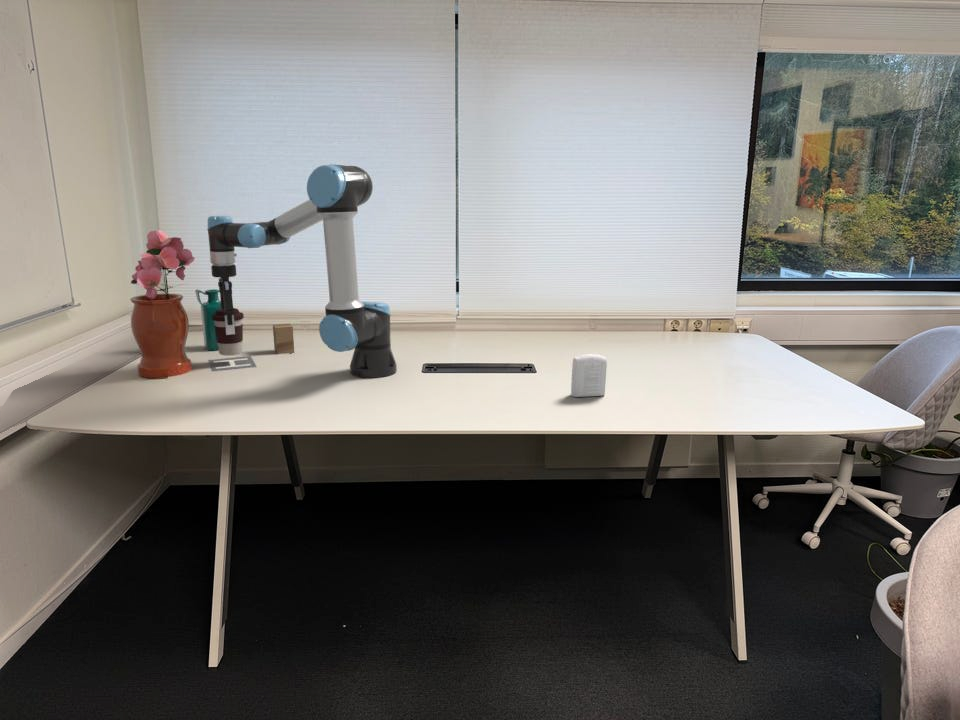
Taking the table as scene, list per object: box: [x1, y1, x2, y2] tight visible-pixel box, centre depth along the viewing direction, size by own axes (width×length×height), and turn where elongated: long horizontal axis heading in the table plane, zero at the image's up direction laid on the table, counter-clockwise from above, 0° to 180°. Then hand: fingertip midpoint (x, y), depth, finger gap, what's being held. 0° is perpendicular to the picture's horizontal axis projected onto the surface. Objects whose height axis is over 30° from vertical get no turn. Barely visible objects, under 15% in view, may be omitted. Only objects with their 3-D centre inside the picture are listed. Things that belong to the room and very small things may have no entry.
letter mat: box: [208, 355, 257, 372], centre depth 225 cm, size 16×14×1 cm
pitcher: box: [195, 288, 222, 352], centre depth 244 cm, size 10×8×22 cm
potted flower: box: [130, 229, 195, 379], centre depth 211 cm, size 19×25×45 cm
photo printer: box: [570, 353, 608, 398], centre depth 194 cm, size 10×4×12 cm, turn 103°
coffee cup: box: [212, 307, 245, 357], centre depth 222 cm, size 10×10×15 cm
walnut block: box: [272, 323, 295, 355], centre depth 240 cm, size 6×6×10 cm
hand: (228, 331), depth 222 cm, fingers closed on coffee cup, 10 cm apart
